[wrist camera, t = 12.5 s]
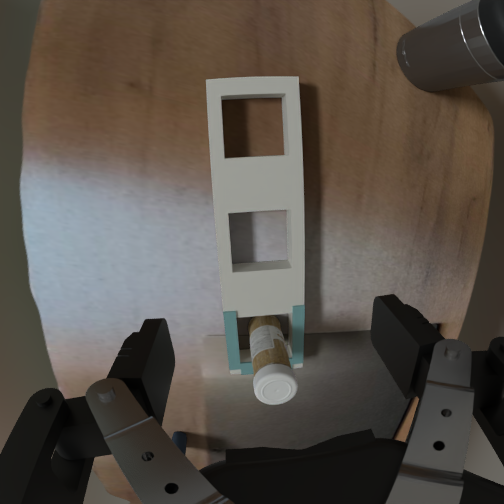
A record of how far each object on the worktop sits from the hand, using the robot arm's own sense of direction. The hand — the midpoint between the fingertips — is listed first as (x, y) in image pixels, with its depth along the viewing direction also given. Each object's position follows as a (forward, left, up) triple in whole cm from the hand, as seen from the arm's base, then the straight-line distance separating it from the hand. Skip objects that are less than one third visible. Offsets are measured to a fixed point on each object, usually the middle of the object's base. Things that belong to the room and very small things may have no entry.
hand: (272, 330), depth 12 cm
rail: (-2, +4, -28) cm, 28 cm away
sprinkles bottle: (-2, +17, -28) cm, 33 cm away
